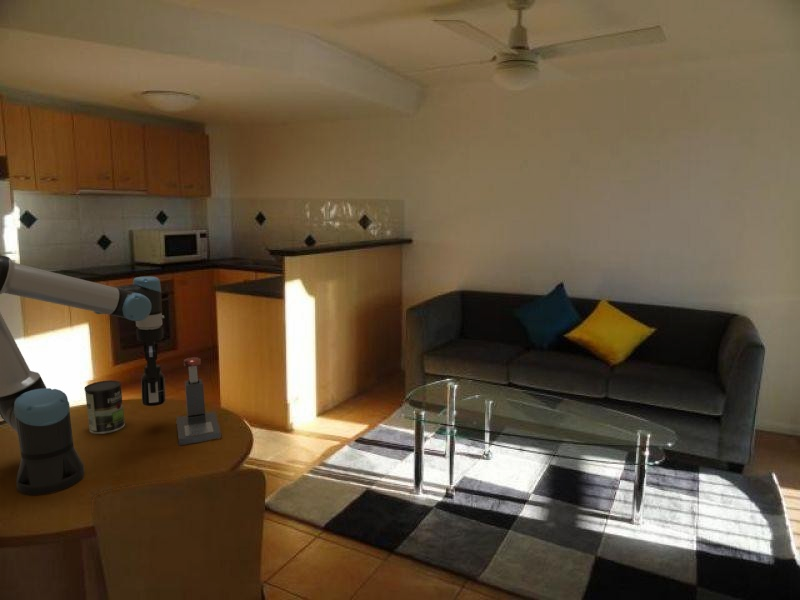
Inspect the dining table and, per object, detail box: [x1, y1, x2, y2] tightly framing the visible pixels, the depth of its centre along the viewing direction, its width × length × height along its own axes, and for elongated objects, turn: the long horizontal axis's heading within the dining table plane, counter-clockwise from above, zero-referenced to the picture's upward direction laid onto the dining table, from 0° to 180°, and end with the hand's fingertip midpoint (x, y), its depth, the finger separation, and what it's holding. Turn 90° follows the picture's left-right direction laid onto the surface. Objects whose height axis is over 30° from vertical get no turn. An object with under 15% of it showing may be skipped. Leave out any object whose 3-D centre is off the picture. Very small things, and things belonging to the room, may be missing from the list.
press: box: [175, 378, 222, 446], centre depth 179 cm, size 18×12×14 cm, turn 23°
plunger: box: [183, 356, 202, 384], centre depth 183 cm, size 5×5×12 cm
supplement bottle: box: [140, 363, 166, 407], centre depth 180 cm, size 7×7×12 cm
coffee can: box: [84, 379, 126, 435], centre depth 182 cm, size 10×10×14 cm
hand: (153, 398), depth 181 cm, fingers closed on supplement bottle, 7 cm apart
